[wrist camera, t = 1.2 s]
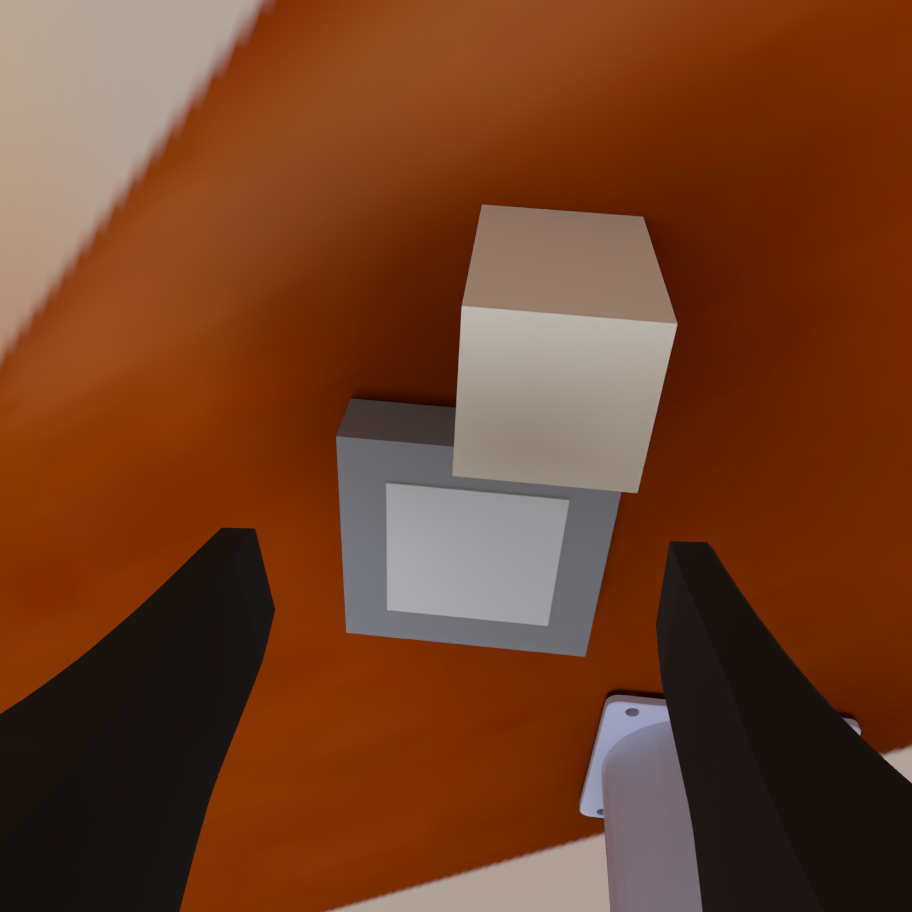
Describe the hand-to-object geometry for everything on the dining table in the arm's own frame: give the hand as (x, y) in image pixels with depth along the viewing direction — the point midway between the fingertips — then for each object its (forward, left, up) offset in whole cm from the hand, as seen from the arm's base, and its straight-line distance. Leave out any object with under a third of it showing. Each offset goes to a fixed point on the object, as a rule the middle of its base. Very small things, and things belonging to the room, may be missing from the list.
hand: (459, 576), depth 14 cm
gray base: (0, +7, -10) cm, 12 cm away
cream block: (-2, -1, -10) cm, 10 cm away
